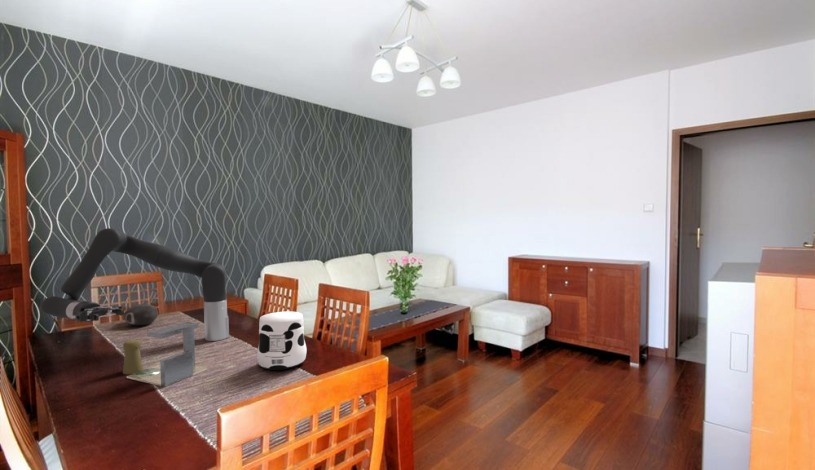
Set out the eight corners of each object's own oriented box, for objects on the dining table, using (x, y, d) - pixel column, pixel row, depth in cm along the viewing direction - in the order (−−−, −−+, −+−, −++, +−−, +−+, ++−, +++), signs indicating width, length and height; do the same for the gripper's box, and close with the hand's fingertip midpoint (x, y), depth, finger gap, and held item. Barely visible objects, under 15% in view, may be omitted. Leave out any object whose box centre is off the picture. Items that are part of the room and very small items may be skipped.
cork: (132, 374, 138) (131, 343, 137) (118, 373, 139) (116, 342, 138) (147, 368, 144) (146, 338, 143) (133, 367, 145) (132, 337, 144)
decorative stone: (122, 322, 206) (121, 303, 206) (155, 318, 215) (154, 299, 215) (125, 330, 191) (125, 310, 191) (160, 325, 200) (160, 305, 200)
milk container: (292, 353, 159) (291, 308, 158) (315, 364, 146) (314, 316, 145) (249, 364, 146) (248, 316, 146) (270, 378, 134) (269, 325, 133)
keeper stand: (126, 377, 135) (124, 329, 134) (168, 362, 149) (167, 318, 149) (165, 387, 128) (163, 336, 127) (206, 369, 142) (205, 324, 141)
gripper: (60, 304, 144) (88, 308, 138) (103, 297, 157) (130, 301, 151) (61, 325, 144) (89, 330, 138) (104, 316, 158) (131, 320, 151)
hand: (110, 315), depth 145 cm, fingers open, 8 cm apart
